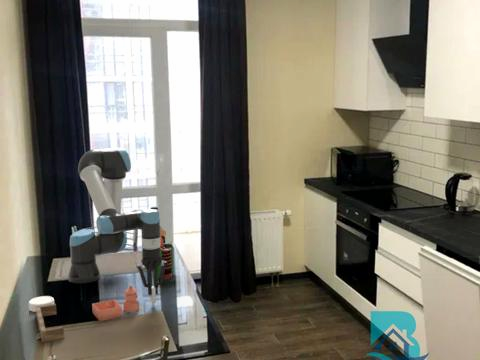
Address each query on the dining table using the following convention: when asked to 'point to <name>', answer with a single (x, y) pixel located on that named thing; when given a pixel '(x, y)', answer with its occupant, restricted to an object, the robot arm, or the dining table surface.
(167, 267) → the motor
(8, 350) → the dining table surface
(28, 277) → the dining table surface
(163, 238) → the whiskey bottle
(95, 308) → the pottery
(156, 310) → the dining table surface
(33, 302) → the coaster
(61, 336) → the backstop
